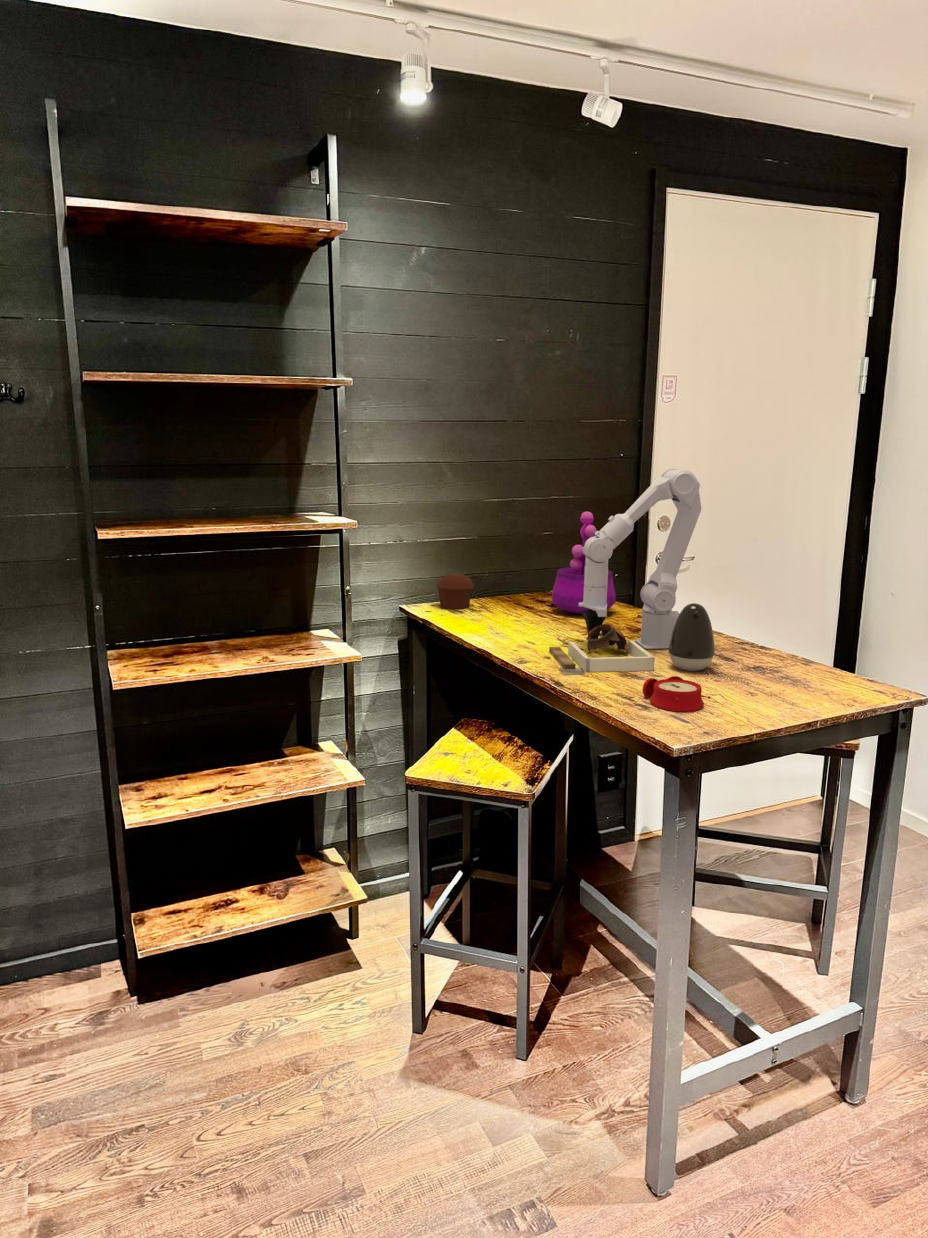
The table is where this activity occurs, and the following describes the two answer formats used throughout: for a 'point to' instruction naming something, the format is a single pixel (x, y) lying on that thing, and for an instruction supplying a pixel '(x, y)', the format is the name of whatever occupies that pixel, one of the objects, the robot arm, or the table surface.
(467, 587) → the muffin
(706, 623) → the black egg shaped dome
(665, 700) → the alarm clock
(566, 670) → the walnut scraper
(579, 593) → the decorative plant
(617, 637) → the brown hollow round piece
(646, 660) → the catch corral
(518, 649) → the table surface
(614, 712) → the table surface
